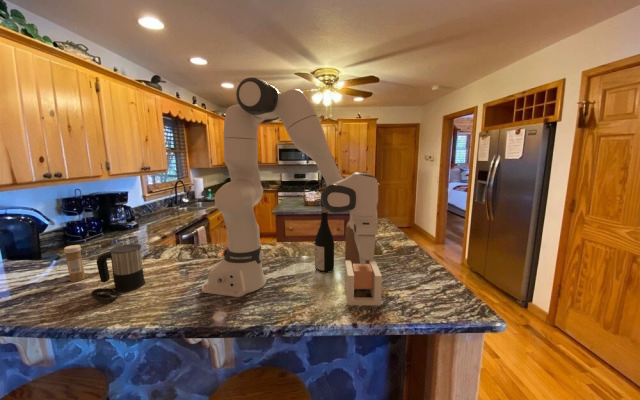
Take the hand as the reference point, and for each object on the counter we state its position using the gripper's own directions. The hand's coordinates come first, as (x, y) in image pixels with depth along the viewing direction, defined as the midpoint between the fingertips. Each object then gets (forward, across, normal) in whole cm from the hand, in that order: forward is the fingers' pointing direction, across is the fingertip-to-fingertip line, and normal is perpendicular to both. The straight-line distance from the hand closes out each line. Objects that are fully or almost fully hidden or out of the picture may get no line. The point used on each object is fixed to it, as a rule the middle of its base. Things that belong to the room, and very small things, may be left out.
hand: (362, 262), depth 87 cm
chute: (+12, 0, 0) cm, 12 cm away
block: (+8, 0, 0) cm, 8 cm away
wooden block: (+12, -20, +1) cm, 23 cm away
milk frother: (+12, 0, -85) cm, 86 cm away
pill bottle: (+12, -9, -109) cm, 110 cm away
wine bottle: (+12, -20, -13) cm, 27 cm away
